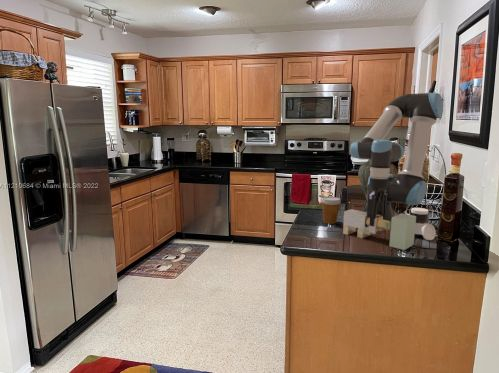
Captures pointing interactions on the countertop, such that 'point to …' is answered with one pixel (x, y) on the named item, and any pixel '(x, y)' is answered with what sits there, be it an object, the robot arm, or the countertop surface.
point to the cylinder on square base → (378, 223)
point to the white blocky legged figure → (355, 223)
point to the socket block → (402, 231)
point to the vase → (365, 174)
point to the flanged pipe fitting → (423, 224)
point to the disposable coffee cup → (330, 209)
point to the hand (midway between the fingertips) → (375, 231)
